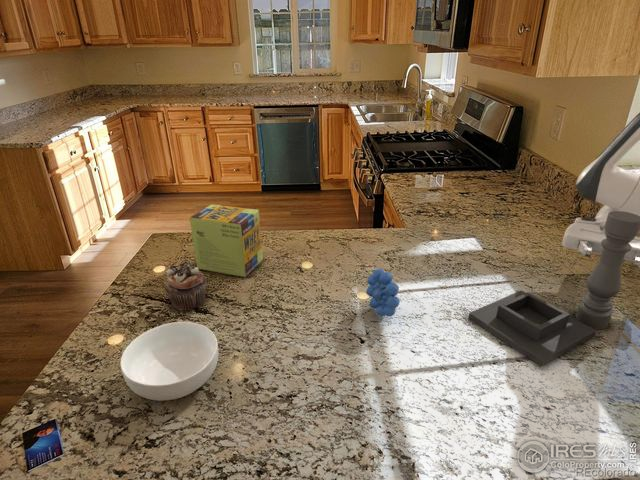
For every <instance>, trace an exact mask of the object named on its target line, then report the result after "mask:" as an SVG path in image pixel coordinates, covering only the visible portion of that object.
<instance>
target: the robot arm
mask: <svg viewBox="0 0 640 480" xmlns="http://www.w3.org/2000/svg"><path fill="white" fill-rule="evenodd" d="M638 142H640V112H638V114H637V115H635V116H634V117H633V118H632V119H631V120H630V122H628V123H627V125H626V126H624V127H623V129H622V130H621V131H620V132H619V133H618V134H617V136H615V137H614V139H613V140H612V141H611V142H610V143H609V144H608V145H607V146H606V147H605V148H604V150H603V151H601V153H600V154H599V155H598V156H597V157H596V158H595V159H594V160H593V161H592V162H591V163H590V164H588V165H587V166H586V167H585V168H584V169H583V170H582V171H581V172H580V174H579V175H578V177H577V179H576V183H575V189H576V191H577V193H578V195H579V196H580V198H581V199H583V200H587V201H590V202H594V203H598V204H601V205H603V206H602V207H601V208H600V209H598V212H597V213H596V215H595V217H579V216H578V217H576V218H575V219H574V221H573V223H571V224H569V225H568V226H567V228H566V229H565V230H564V234H563V238H562V241H561V246H562V247H563V248H565V249H569V250H574V251H578V252H580V253H581V254H582V255H581V256H582V257H586V258H590V257H591V254H594V255H598V256H601V254H602V251H603V247H602V245H601V241H602V240H603V239H606V234H605V229H604V226H605V223H606V220H607V217H608V214H609V212H612V211H623V212H629V213H633V214H636V215H638V216H640V174H638V173H635V172H633V171H630V170H628V169H625V168H622V167H619V166H618V165H617V163H618V162H620V160H622V158H623V157H624V156H625V155H626V154H628V152H629V151H630V150H631V149H632V148H633V147H634V146H635V145H636V144H637V143H638ZM629 244H630V245H631V247H632V248H631V250H630V251H629V252H627V253H625V256H624V259H623V261H628V262H632V265H631V266H632V267H633V268H636V269H637V268H638V269H640V236H635V238H634V239H633V240H632V241H631V242H630V243H629Z"/></svg>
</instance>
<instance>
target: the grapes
mask: <svg viewBox="0 0 640 480" xmlns="http://www.w3.org/2000/svg"><path fill="white" fill-rule="evenodd" d="M393 279H394V275H393V274H391V272H390V271H384V270H383V269H382V268H376V269H374V270H373V273H371V274H369V276H368V277H367V280H366V282H367V284H368V286H367V288H366V290H365V293H366V295H367V296H368V297H370V300H369V306H370V308H372V309H376V310H375V313H376V314H377V316H379V317H385V316H386V317H387V318H388V317H393V316H394V315H395V313H396V309H397V308H398V307H399V305H400V302H401V300H400V298H399V297H398V296H397V295H398V294H399V292H400V289H399V288H400V287H399V285H398V284H397V283H395V282H394V281H393Z"/></svg>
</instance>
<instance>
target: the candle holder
mask: <svg viewBox="0 0 640 480" xmlns="http://www.w3.org/2000/svg"><path fill="white" fill-rule="evenodd" d="M604 229H605V234H606V239H603V240H602V241H601V245H602V247H603V251H602V254H601V255H600V257H599V260H598V261H597V263H596V265H595V267H594V268H593V270H592V271H591V273H590V274H589V276H588V277H587V278H586V280H585V281H586V282H585V284H586V288H587V294H586V295H584V296H582V298H581V301H580V302H579V305H578V307H577V310H576V313H575V319H577V320H578V321H580V322H582V323H584V324H586V325H588V326H590V327H592V328H594V329H596V330H604V329H607V327H608V326H609V323H610V320H611V317H612V314H613V311H612V310H613V307H614V305H613V303H612V301H611V300H612V299H613V298H614V297H615V296H617V295H618V294H619V293H620V290H621V288H622V264H623V261H624V260H623V259H624V256H625V253H627V252H629V251H630V250H631V248H632V247H631V245H630V244H629V243H630V242H631V241H632V240H633V239H634V238H635V236H636V237H638V235H639V232H640V216H638V215H636V214H633V213H629V212H623V211H612V212H609V214H608V217H607V220H606V223H605V226H604Z"/></svg>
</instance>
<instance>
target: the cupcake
mask: <svg viewBox="0 0 640 480" xmlns="http://www.w3.org/2000/svg"><path fill="white" fill-rule="evenodd" d="M166 275H167V276H166V282H165V285H164V287H163V288H164V291H165V294H167V296H168V298H169V301H170V303H171V306H172V307H174V308H175V309H177V310H179V311H180V310H181V311H189V310H194V309H197V308H198V307H200V306H202V305H203V304H204V303H205V301H206V292H207V291H206V289H207V279H206V277H205V276H204V274H203V272H202V271H200V269H198V268H197V266H190V265H189V264H188V262H187V261H184V262H183V263H181V264H179V265H173V266H169V268H168V269H167V270H166Z"/></svg>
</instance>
